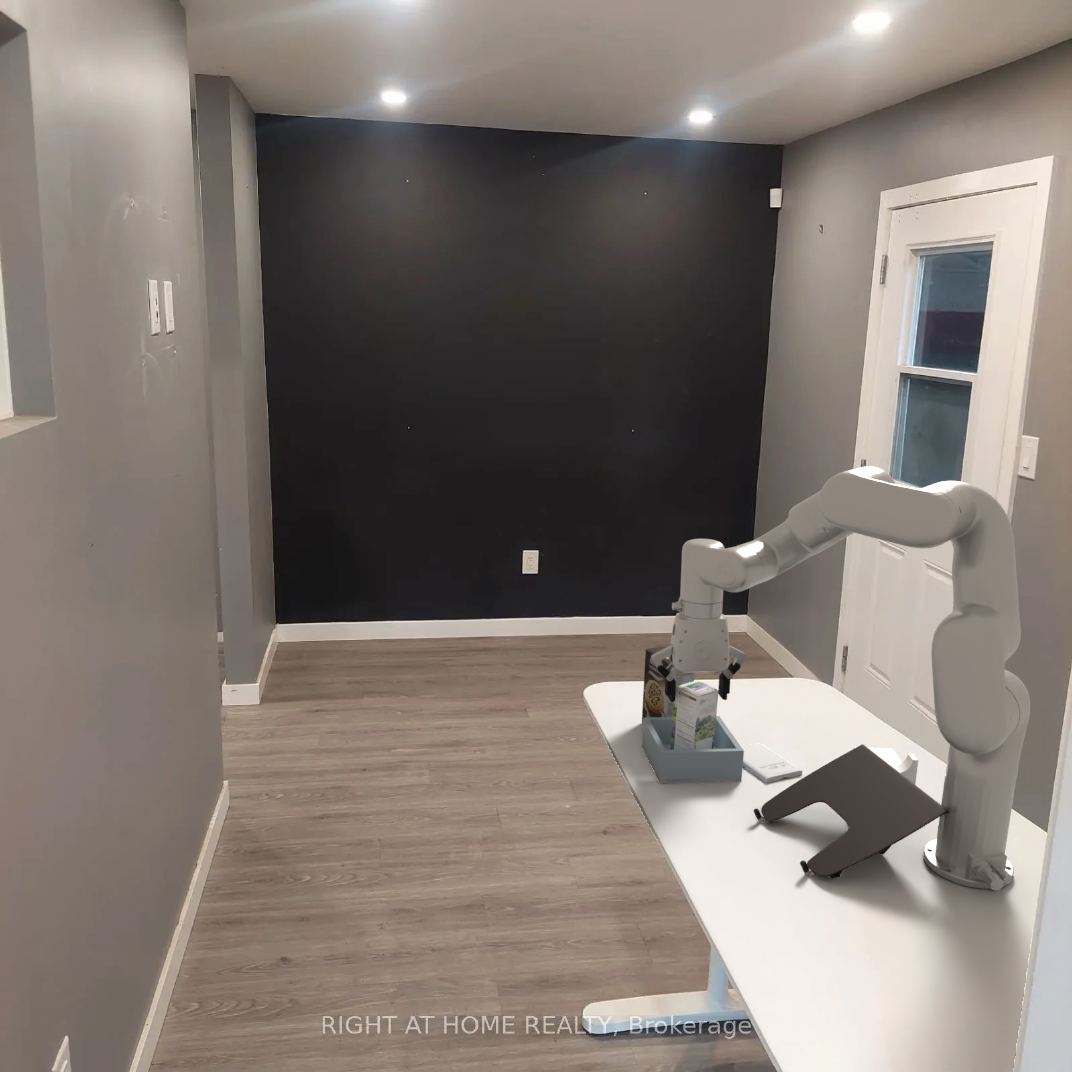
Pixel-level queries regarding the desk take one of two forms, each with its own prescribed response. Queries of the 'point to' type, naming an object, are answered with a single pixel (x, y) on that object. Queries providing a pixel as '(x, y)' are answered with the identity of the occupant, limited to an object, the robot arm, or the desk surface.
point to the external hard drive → (767, 763)
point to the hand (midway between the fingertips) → (696, 698)
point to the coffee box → (659, 687)
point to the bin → (691, 755)
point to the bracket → (899, 762)
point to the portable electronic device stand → (857, 808)
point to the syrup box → (694, 716)
